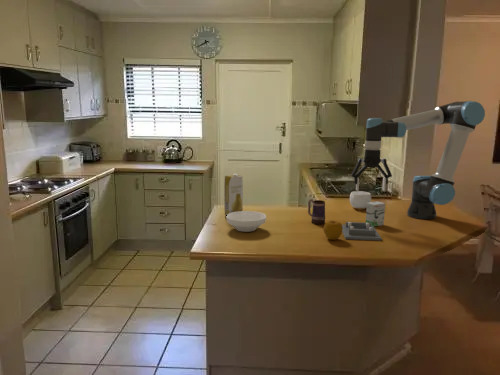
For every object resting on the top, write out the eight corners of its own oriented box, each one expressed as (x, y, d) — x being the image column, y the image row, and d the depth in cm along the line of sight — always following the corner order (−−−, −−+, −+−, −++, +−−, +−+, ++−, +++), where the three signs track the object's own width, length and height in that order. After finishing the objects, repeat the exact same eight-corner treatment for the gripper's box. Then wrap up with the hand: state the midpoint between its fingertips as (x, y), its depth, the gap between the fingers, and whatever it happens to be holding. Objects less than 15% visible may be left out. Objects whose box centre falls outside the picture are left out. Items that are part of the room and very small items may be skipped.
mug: (327, 223, 211) (328, 200, 208) (319, 225, 206) (320, 202, 204) (312, 219, 218) (313, 197, 216) (304, 221, 213) (304, 199, 211)
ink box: (371, 227, 204) (373, 204, 201) (364, 224, 208) (366, 202, 206) (384, 225, 208) (385, 202, 206) (376, 222, 212) (378, 200, 210)
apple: (329, 243, 178) (330, 224, 177) (319, 237, 186) (320, 219, 184) (345, 241, 182) (346, 222, 180) (334, 235, 190) (335, 217, 188)
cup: (374, 209, 241) (375, 193, 239) (360, 212, 234) (361, 196, 232) (358, 205, 251) (359, 190, 249) (344, 207, 244) (345, 192, 242)
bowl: (220, 226, 203) (220, 212, 202) (256, 222, 211) (256, 209, 209) (234, 237, 185) (234, 222, 184) (272, 233, 193) (273, 218, 192)
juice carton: (231, 218, 218) (231, 175, 213) (222, 215, 223) (222, 173, 219) (244, 216, 224) (244, 173, 219) (235, 213, 229) (235, 171, 225)
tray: (372, 228, 202) (373, 220, 201) (381, 240, 183) (381, 231, 182) (340, 226, 204) (340, 218, 203) (345, 239, 184) (345, 230, 184)
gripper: (395, 148, 206) (392, 189, 210) (346, 148, 206) (344, 188, 210) (400, 149, 198) (397, 191, 202) (349, 149, 199) (347, 191, 203)
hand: (370, 190), depth 206 cm, fingers open, 13 cm apart
